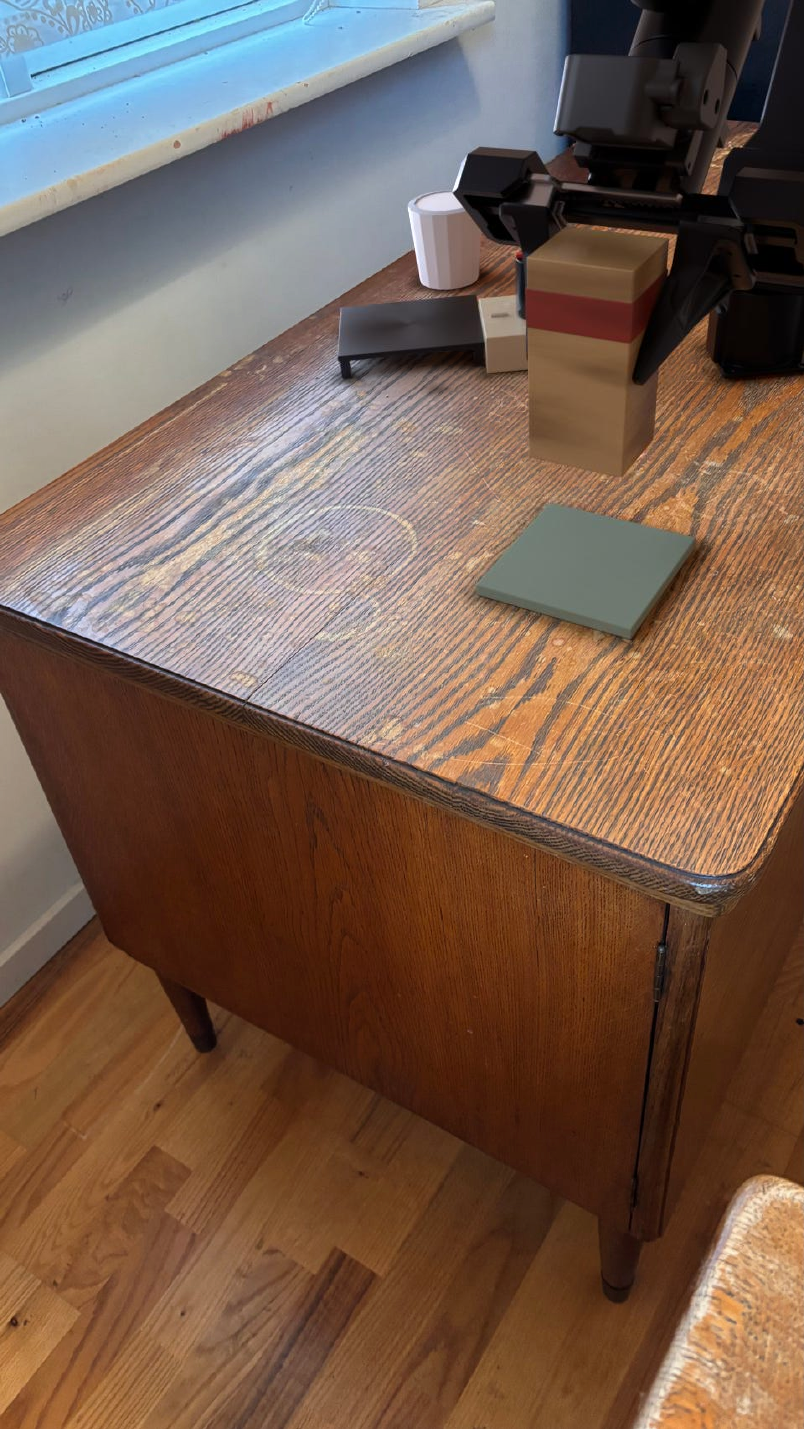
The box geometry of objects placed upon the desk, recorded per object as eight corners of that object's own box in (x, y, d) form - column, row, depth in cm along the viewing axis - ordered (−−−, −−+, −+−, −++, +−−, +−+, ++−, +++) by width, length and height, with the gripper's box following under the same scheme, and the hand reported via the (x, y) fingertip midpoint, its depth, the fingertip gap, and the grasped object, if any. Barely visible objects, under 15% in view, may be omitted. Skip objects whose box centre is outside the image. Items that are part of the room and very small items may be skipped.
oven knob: (566, 297, 87) (567, 238, 84) (574, 319, 84) (575, 258, 81) (513, 303, 87) (512, 243, 84) (519, 324, 84) (518, 263, 81)
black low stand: (477, 316, 93) (476, 294, 92) (485, 365, 86) (484, 342, 85) (343, 329, 94) (340, 307, 93) (340, 379, 87) (337, 356, 85)
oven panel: (595, 320, 91) (596, 283, 88) (611, 363, 84) (613, 325, 82) (479, 331, 91) (478, 295, 89) (487, 375, 85) (486, 337, 83)
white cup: (403, 290, 99) (396, 212, 95) (429, 262, 104) (423, 187, 99) (471, 294, 97) (467, 215, 92) (495, 266, 102) (492, 189, 97)
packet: (562, 421, 61) (564, 225, 54) (655, 440, 59) (671, 237, 51) (527, 458, 59) (524, 257, 51) (622, 479, 56) (634, 271, 49)
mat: (549, 512, 70) (549, 501, 69) (695, 547, 65) (696, 537, 65) (476, 595, 64) (475, 584, 63) (630, 640, 59) (631, 629, 59)
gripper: (459, -37, 50) (360, 282, 51) (864, -41, 42) (735, 339, 43) (535, 102, 60) (451, 366, 61) (874, 121, 52) (769, 425, 53)
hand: (582, 373), depth 55 cm, fingers closed on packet, 5 cm apart
